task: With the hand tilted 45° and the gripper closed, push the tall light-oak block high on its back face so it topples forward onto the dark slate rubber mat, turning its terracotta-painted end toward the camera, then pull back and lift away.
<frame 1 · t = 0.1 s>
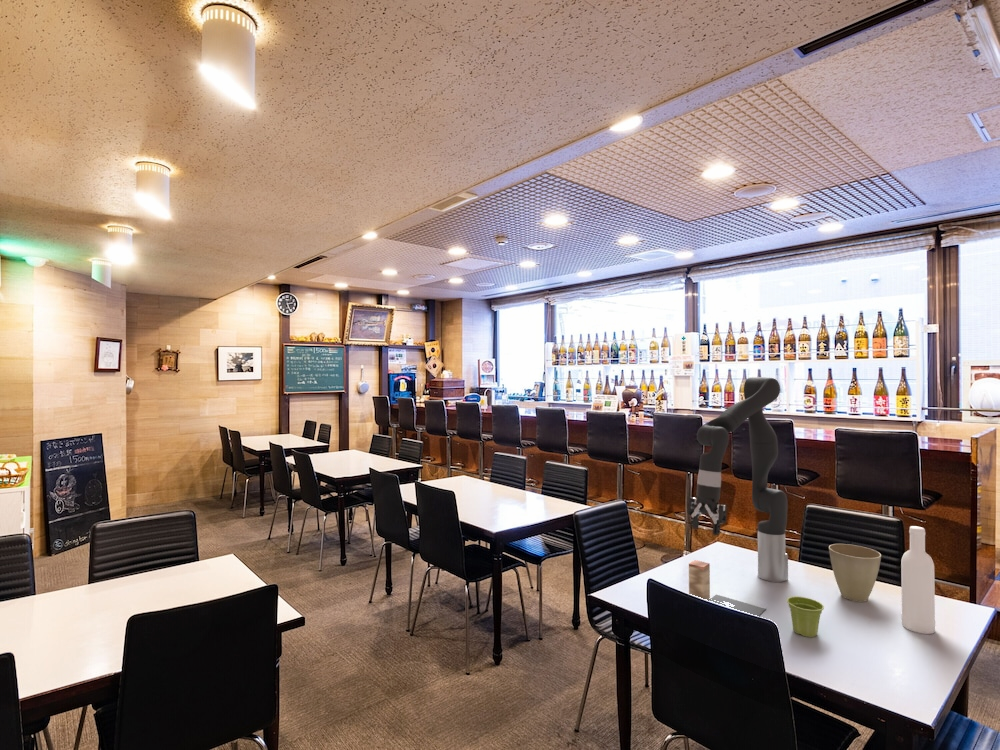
hand: (705, 531, 180), 22 cm above the table, tool pointing down, fingers open, 8 cm apart
bottle: (918, 628, 157), on the table
slate mat: (732, 608, 171), on the table
plant pot: (854, 597, 179), on the table
plant pot 2: (805, 633, 155), on the table
oak block: (699, 598, 179), on the table
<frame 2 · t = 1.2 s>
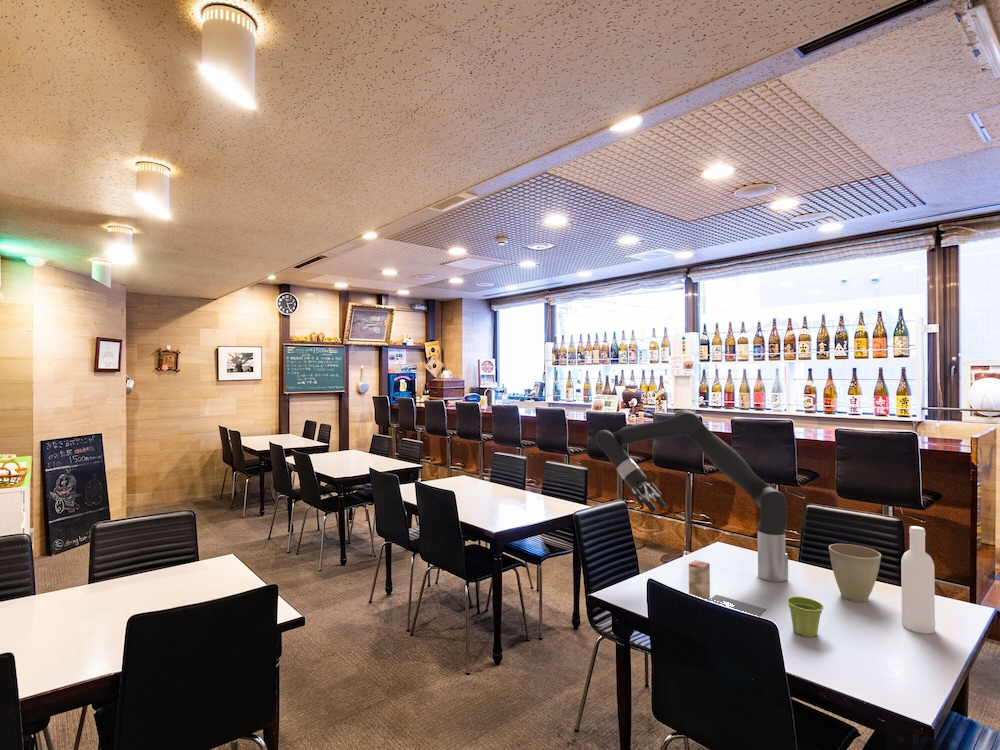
hand: (659, 509, 194), 27 cm above the table, tool tilted 45°, fingers open, 7 cm apart
nothing on the table moved.
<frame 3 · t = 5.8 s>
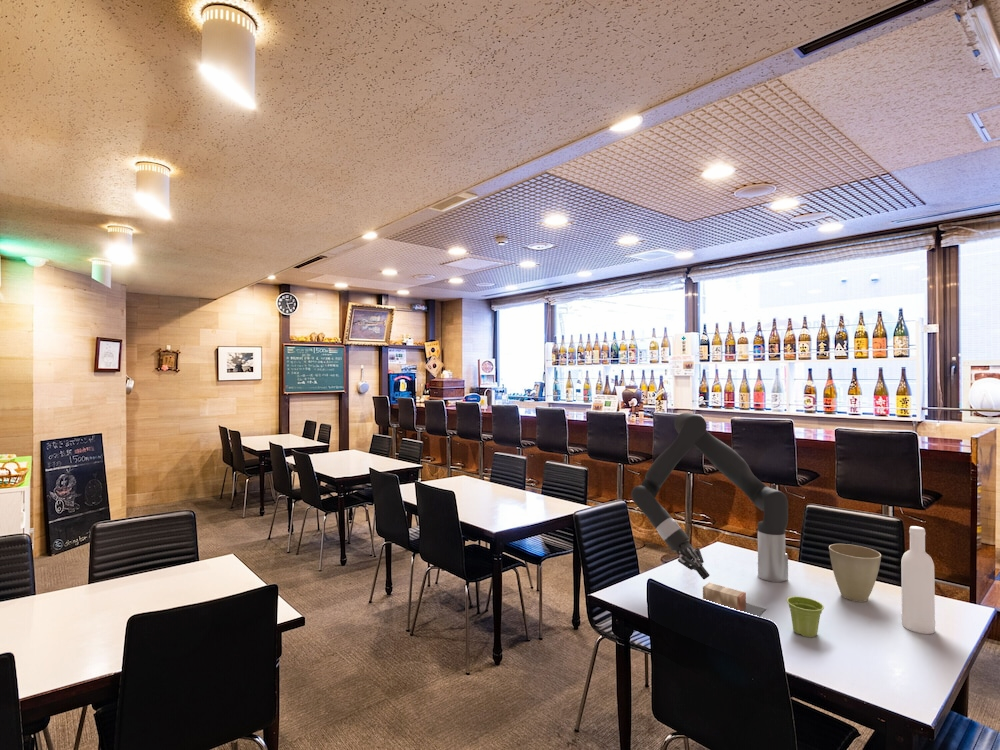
hand: (706, 577, 177), 8 cm above the table, tool tilted 45°, fingers closed
oak block: (706, 592, 177), point 3 cm above the table, tilted 90°, touching slate mat
everything else where it was.
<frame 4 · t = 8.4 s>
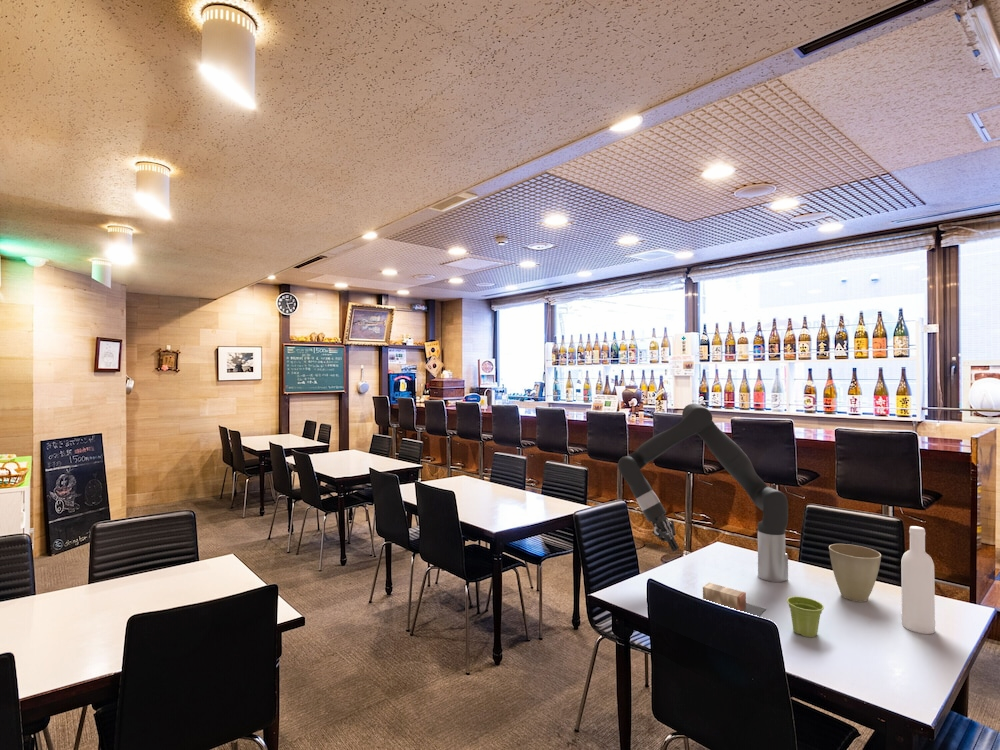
hand: (676, 549, 189), 13 cm above the table, tool tilted 35°, fingers closed
nothing on the table moved.
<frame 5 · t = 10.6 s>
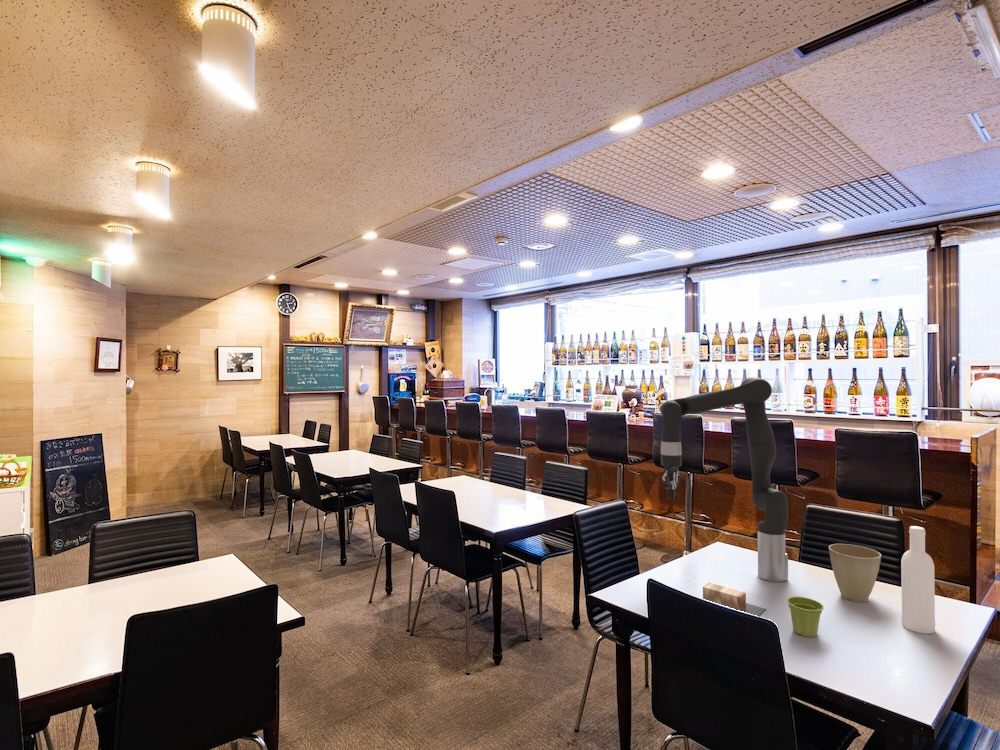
hand: (671, 498, 201), 29 cm above the table, tool pointing down, fingers closed
nothing on the table moved.
at the end: oak block tilted 90°; oak block touching slate mat; the gripper is holding nothing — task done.
